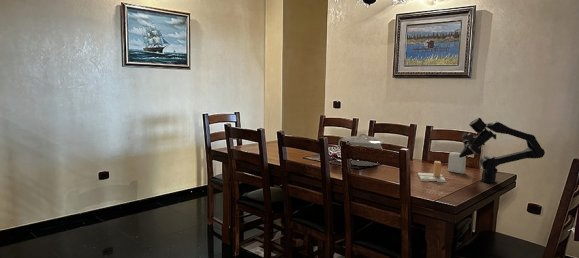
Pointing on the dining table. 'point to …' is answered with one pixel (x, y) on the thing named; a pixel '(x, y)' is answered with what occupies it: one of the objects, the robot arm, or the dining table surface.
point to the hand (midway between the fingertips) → (459, 156)
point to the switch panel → (430, 177)
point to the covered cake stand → (363, 141)
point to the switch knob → (437, 168)
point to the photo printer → (456, 163)
